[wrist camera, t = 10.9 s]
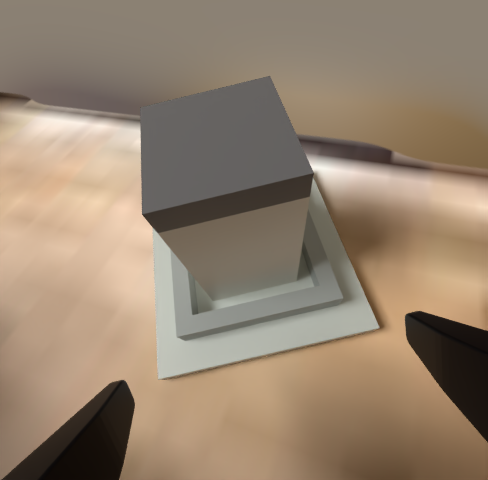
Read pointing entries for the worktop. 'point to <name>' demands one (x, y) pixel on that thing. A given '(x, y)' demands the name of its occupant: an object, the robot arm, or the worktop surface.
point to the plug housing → (227, 186)
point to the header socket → (259, 306)
